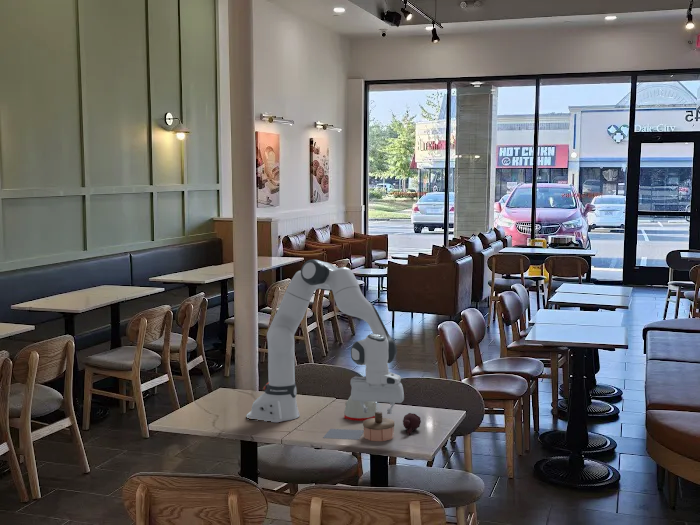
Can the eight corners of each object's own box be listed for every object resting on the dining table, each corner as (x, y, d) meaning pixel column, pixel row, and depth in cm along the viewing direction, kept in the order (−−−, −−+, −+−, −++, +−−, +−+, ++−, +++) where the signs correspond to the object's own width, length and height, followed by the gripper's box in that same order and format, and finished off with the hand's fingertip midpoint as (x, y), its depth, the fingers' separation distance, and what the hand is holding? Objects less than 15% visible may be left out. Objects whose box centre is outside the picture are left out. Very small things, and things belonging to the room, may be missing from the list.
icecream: (405, 408, 322) (395, 421, 308) (422, 405, 320) (413, 418, 306) (410, 424, 323) (400, 438, 309) (427, 421, 320) (418, 435, 306)
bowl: (362, 441, 301) (361, 428, 300) (368, 433, 311) (367, 420, 311) (390, 443, 298) (390, 429, 298) (395, 434, 309) (395, 421, 308)
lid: (359, 428, 300) (359, 416, 300) (366, 420, 312) (366, 408, 311) (391, 430, 297) (390, 417, 297) (397, 421, 309) (396, 409, 308)
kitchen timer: (383, 416, 335) (383, 381, 334) (364, 424, 324) (363, 387, 323) (357, 411, 344) (356, 377, 342) (337, 418, 333) (336, 383, 331)
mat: (322, 439, 305) (322, 437, 305) (330, 430, 316) (330, 428, 316) (358, 441, 302) (358, 439, 301) (365, 431, 313) (365, 430, 313)
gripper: (348, 377, 302) (349, 413, 303) (401, 380, 297) (402, 416, 298) (352, 374, 308) (352, 409, 309) (404, 376, 303) (404, 412, 304)
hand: (377, 412), depth 304 cm, fingers open, 8 cm apart
